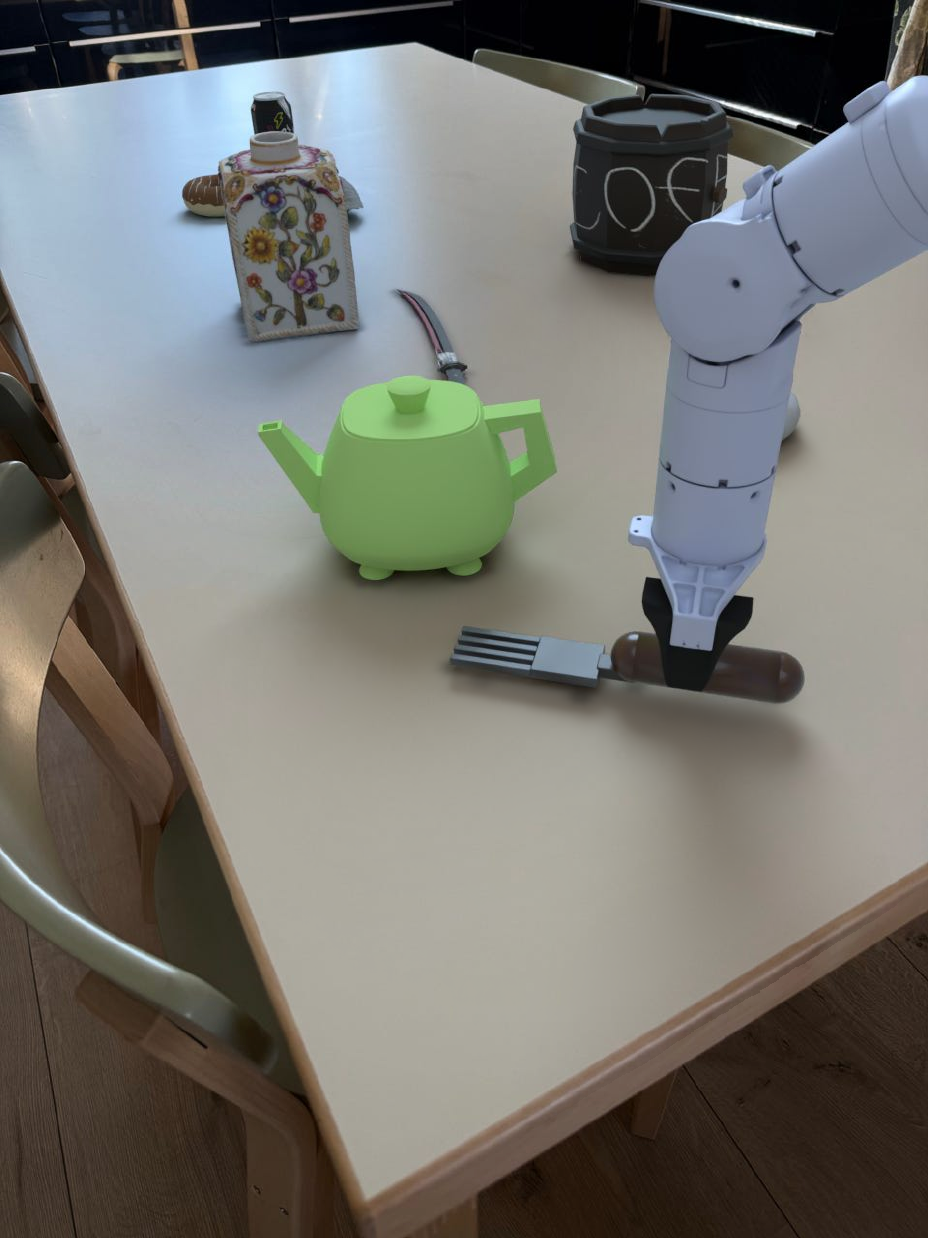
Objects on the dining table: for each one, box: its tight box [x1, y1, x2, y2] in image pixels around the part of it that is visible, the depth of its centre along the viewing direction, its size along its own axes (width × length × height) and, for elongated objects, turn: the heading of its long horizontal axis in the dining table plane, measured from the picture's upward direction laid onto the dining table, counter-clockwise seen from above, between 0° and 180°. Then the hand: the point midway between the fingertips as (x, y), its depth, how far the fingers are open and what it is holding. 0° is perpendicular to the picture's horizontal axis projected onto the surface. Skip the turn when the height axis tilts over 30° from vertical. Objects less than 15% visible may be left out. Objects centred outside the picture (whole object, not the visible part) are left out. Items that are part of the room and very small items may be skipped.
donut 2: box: [181, 173, 225, 218], centre depth 136 cm, size 11×11×4 cm
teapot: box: [257, 375, 558, 581], centre depth 68 cm, size 20×13×13 cm
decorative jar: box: [217, 131, 360, 343], centre depth 100 cm, size 12×12×18 cm
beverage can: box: [250, 91, 296, 135], centre depth 143 cm, size 6×6×12 cm
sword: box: [396, 289, 468, 386], centre depth 99 cm, size 31×3×1 cm, turn 13°
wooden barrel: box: [569, 93, 734, 277], centre depth 113 cm, size 18×18×16 cm
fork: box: [449, 625, 806, 705], centre depth 58 cm, size 20×3×3 cm, turn 75°
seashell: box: [338, 175, 364, 212], centre depth 132 cm, size 12×8×5 cm
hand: (687, 664), depth 57 cm, fingers closed on fork, 3 cm apart
